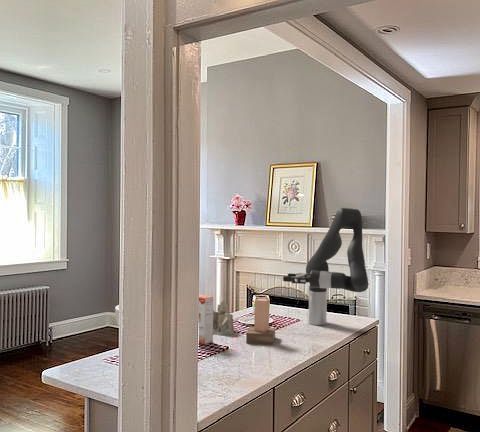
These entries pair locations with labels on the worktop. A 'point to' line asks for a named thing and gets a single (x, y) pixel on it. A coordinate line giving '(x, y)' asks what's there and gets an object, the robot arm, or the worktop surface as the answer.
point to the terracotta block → (261, 315)
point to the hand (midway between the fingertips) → (285, 277)
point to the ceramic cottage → (222, 320)
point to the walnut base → (260, 336)
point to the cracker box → (205, 319)
